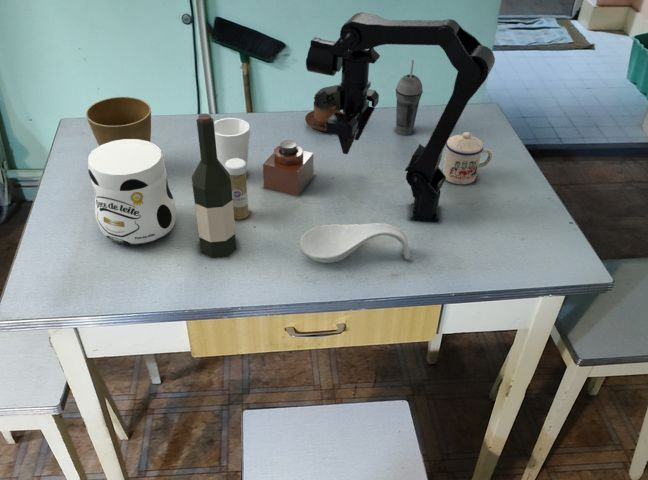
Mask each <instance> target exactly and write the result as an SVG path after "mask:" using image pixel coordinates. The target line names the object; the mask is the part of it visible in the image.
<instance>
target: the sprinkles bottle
mask: <svg viewBox="0 0 648 480" xmlns="http://www.w3.org/2000/svg"><path fill="white" fill-rule="evenodd" d="M225 168H226V170H227V171H228V173H229V174H230V179H231V187H232V199H233V211H234V220H244V219H247V218H248V217H249V215H250V211H249V197H248V196H249V195H248V183H247V172H246V162H245V161H244V160H242V159H238V158H234V159H230V160H228V161H227V162H226V163H225Z"/></svg>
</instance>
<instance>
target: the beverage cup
mask: <svg viewBox="0 0 648 480" xmlns="http://www.w3.org/2000/svg"><path fill="white" fill-rule="evenodd" d="M414 64H415V60H414V59H412V60H411V63H410V65H411V66H410V73H409V74H406V75H404V76H402V77H401V78H400V79H399V80H398V82H397V85H396V88H395V96H396V97H395V98H396V112H395V113H396V114H395V115H396V118H395V119H396V120H395V128H396V133H397V134H399V135H402V136H408V135H411V134H412V133H413V131H414V127H415V122H416V117H417V113H418V109H419V104H420V101H421V98H422V94H423V93H424V91H423V83H422V81H421V79H420V78H419V77H418V76H416V75H415V74H413V71H414Z"/></svg>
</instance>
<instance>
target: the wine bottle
mask: <svg viewBox="0 0 648 480" xmlns="http://www.w3.org/2000/svg"><path fill="white" fill-rule="evenodd" d="M197 117H198V118H197V119H196V127H197V129H196V130H197V136H198V145H199V153H200V161H199V163H198V164H197V166H196V167H195V170H194V171H193V173H192V175H191V184H192V192H193V193H192V194H193V200H194V207H195V214H196V223H197V230H198V231H197V232H198V238H199V246H200V247H199V248H200V254H203V255H205V256H207V257H209V258H212V259H218V258H227V257H229V256H230V255H232V254H233V253H234V252H235V251H237V249H238V248H237V247H238V246H237V238H236V237H237V236H236V225H235V223H236V222H235V219H234V211H233V199H232V187H231V179H230V174H229V173H228V171H227V170H226V169H225V168H224V166H223V165H222V164H221V163H220V162H219V160H218V159H217V151H216V140H215V130H214V122H215V121H214V118H213V117H212V116H211V114H210V113H201V114H199V115H198V116H197Z"/></svg>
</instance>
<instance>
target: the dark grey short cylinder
mask: <svg viewBox="0 0 648 480" xmlns="http://www.w3.org/2000/svg"><path fill="white" fill-rule="evenodd" d="M279 146H280V153H281V154H282V155H285V156H292V155H295V154H296V153H297V146H298V144H297V142H296V141H294V140H288V139H287V140H283V141H280V143H279Z"/></svg>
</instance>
